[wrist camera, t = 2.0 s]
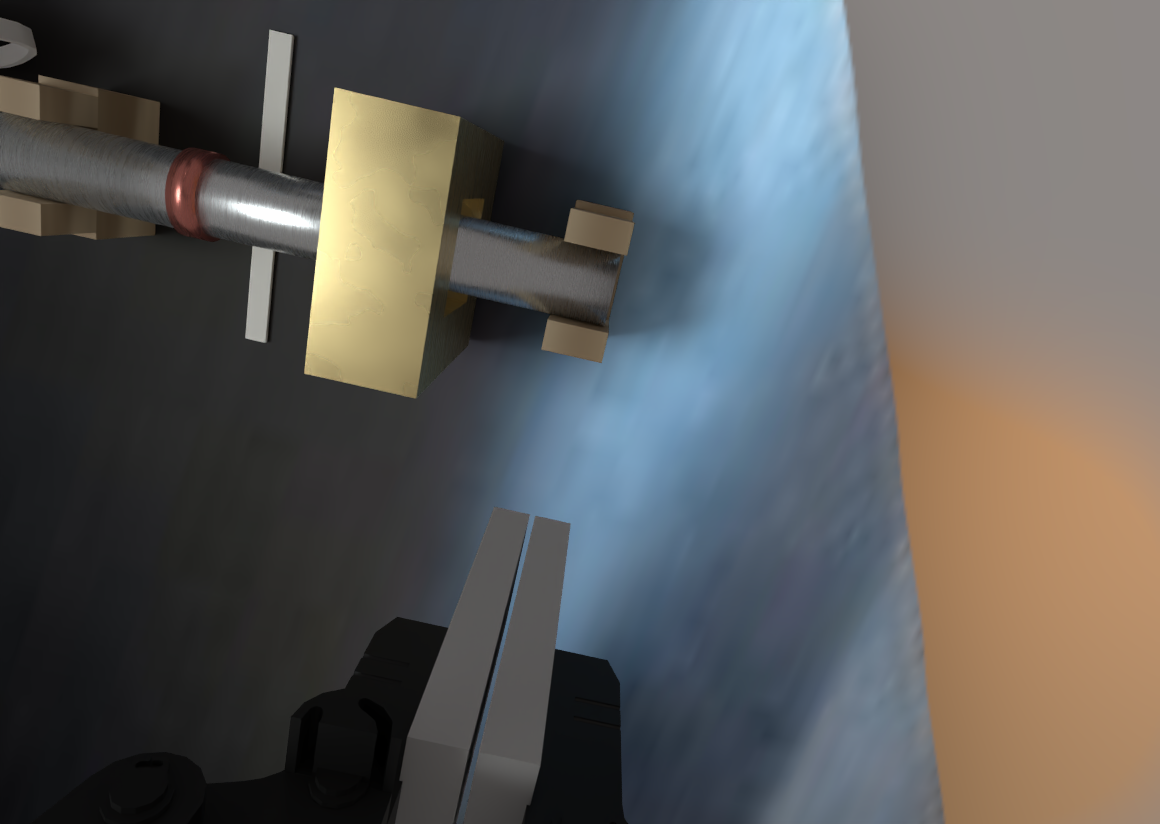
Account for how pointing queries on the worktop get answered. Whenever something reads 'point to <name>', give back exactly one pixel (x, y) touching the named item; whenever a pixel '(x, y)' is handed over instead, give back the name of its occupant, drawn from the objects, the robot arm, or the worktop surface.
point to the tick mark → (273, 161)
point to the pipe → (281, 213)
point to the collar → (395, 242)
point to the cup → (15, 43)
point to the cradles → (57, 218)
